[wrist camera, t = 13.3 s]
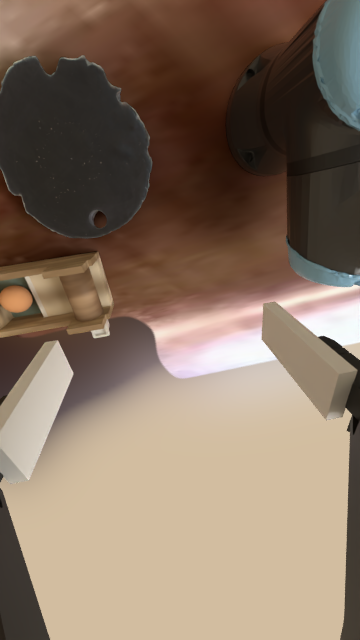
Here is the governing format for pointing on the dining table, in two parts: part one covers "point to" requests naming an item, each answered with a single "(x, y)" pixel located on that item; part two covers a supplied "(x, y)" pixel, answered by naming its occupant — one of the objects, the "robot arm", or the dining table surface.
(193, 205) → the dining table surface
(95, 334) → the grey egg cup
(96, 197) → the board
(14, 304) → the ball
